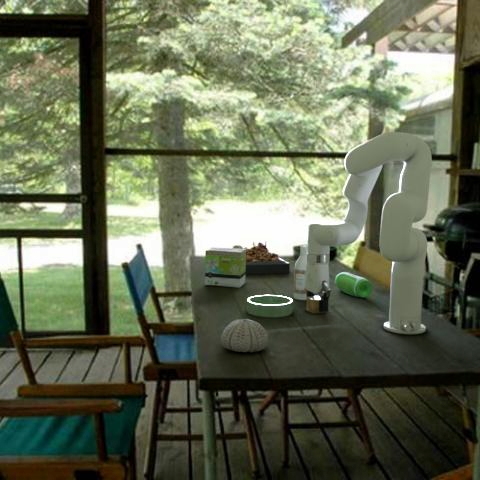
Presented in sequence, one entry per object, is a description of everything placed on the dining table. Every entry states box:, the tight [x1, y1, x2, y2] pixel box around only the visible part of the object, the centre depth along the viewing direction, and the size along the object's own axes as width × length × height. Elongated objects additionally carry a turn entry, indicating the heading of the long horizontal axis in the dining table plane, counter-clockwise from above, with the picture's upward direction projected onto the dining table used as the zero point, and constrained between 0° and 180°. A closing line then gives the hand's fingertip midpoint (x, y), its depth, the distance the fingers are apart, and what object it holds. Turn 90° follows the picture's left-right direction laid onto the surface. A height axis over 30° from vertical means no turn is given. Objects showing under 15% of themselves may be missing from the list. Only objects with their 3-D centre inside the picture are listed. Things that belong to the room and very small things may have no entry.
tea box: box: [204, 246, 246, 289], centre depth 256 cm, size 15×10×15 cm, turn 76°
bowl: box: [246, 294, 294, 318], centre depth 210 cm, size 15×15×4 cm
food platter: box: [232, 241, 291, 275], centre depth 303 cm, size 45×25×10 cm, turn 12°
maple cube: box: [305, 295, 323, 314], centre depth 212 cm, size 5×5×5 cm
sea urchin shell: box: [220, 318, 271, 353], centre depth 170 cm, size 13×14×8 cm
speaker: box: [334, 271, 373, 299], centre depth 241 cm, size 18×7×8 cm, turn 21°
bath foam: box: [293, 245, 307, 301], centre depth 230 cm, size 7×7×20 cm
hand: (317, 308), depth 212 cm, fingers open, 9 cm apart
